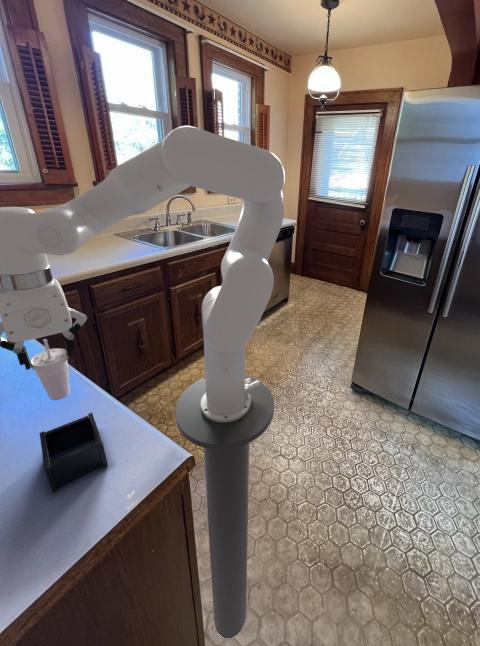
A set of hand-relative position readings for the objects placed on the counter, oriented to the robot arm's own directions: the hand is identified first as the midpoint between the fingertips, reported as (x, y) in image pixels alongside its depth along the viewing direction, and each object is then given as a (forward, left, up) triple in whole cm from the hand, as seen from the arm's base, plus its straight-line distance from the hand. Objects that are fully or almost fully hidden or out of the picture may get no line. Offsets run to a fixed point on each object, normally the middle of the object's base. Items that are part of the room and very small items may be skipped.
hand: (49, 359), depth 63 cm
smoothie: (0, 0, -9) cm, 9 cm away
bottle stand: (0, +12, -17) cm, 21 cm away
